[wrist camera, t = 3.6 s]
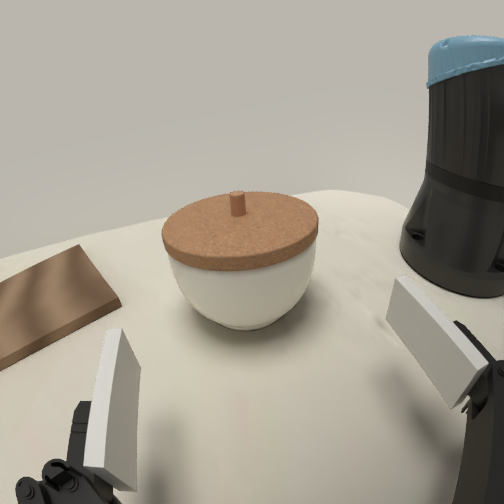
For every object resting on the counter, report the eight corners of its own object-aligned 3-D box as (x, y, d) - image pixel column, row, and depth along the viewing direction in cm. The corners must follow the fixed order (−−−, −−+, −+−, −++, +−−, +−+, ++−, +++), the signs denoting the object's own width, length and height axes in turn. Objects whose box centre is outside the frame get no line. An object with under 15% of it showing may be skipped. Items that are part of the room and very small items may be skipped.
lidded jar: (196, 371, 18) (160, 245, 14) (175, 284, 27) (154, 188, 23) (339, 326, 21) (352, 205, 16) (282, 259, 30) (278, 166, 25)
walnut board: (81, 250, 35) (79, 244, 35) (121, 306, 25) (118, 297, 24) (-15, 299, 26) (-19, 292, 26) (-17, 379, 16) (-23, 371, 15)
